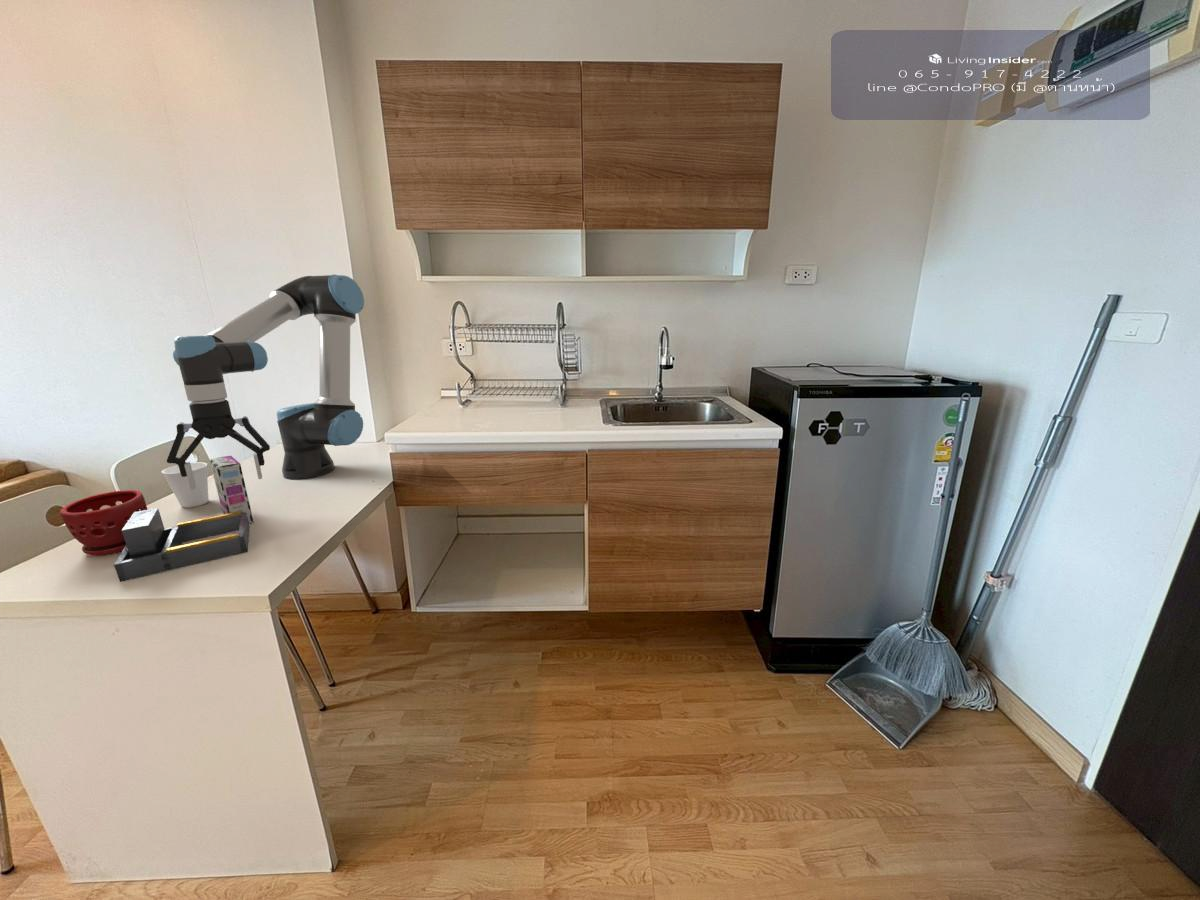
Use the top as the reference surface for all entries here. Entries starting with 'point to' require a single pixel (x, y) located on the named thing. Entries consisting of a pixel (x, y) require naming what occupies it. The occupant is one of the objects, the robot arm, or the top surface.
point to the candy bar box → (231, 486)
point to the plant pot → (102, 520)
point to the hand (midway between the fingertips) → (228, 482)
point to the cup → (182, 486)
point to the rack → (177, 543)
